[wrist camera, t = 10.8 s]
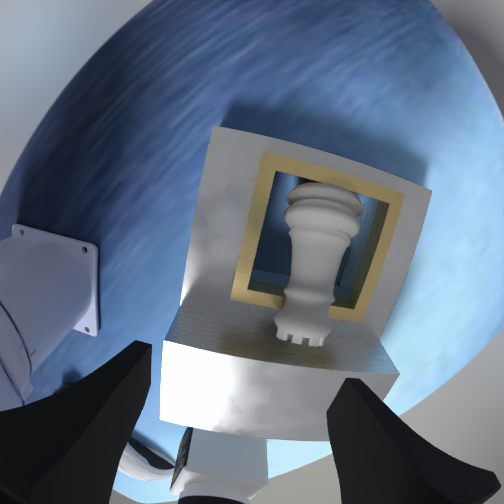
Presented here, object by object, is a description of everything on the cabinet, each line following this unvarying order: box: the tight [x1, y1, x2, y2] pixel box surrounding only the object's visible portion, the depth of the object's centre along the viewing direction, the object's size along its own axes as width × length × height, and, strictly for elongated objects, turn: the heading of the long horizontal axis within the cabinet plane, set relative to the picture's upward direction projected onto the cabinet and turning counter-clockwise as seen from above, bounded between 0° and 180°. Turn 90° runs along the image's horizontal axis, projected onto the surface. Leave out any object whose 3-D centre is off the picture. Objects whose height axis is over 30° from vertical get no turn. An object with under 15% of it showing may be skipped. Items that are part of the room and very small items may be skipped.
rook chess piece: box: [273, 182, 364, 347], centre depth 15 cm, size 4×4×8 cm
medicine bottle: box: [170, 426, 268, 504], centre depth 19 cm, size 7×7×12 cm
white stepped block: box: [160, 126, 432, 441], centre depth 17 cm, size 14×18×6 cm
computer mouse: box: [58, 383, 175, 481], centre depth 24 cm, size 10×18×4 cm, turn 43°
